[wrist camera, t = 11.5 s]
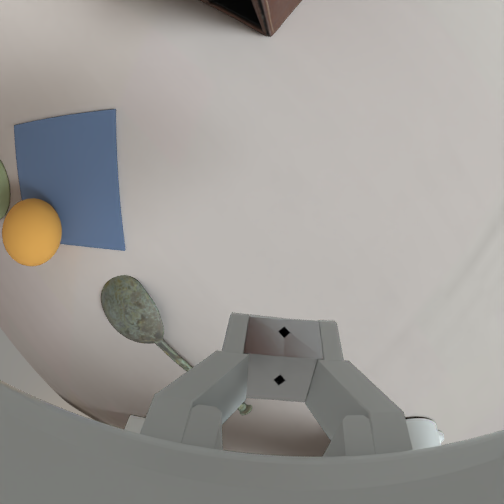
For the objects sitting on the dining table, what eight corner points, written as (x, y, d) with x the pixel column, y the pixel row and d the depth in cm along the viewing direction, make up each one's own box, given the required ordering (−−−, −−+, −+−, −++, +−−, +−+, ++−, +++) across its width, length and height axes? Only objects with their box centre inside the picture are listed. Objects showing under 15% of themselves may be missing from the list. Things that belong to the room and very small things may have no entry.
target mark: (125, 249, 26) (124, 250, 26) (31, 239, 27) (30, 240, 26) (115, 109, 20) (114, 109, 20) (15, 125, 21) (14, 125, 21)
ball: (80, 252, 26) (37, 280, 20) (41, 249, 27) (1, 274, 22) (68, 188, 24) (19, 207, 18) (29, 193, 25) (-15, 211, 19)
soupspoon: (132, 255, 28) (97, 285, 30) (114, 273, 25) (80, 303, 27) (269, 398, 34) (226, 410, 36) (265, 421, 31) (221, 431, 33)
